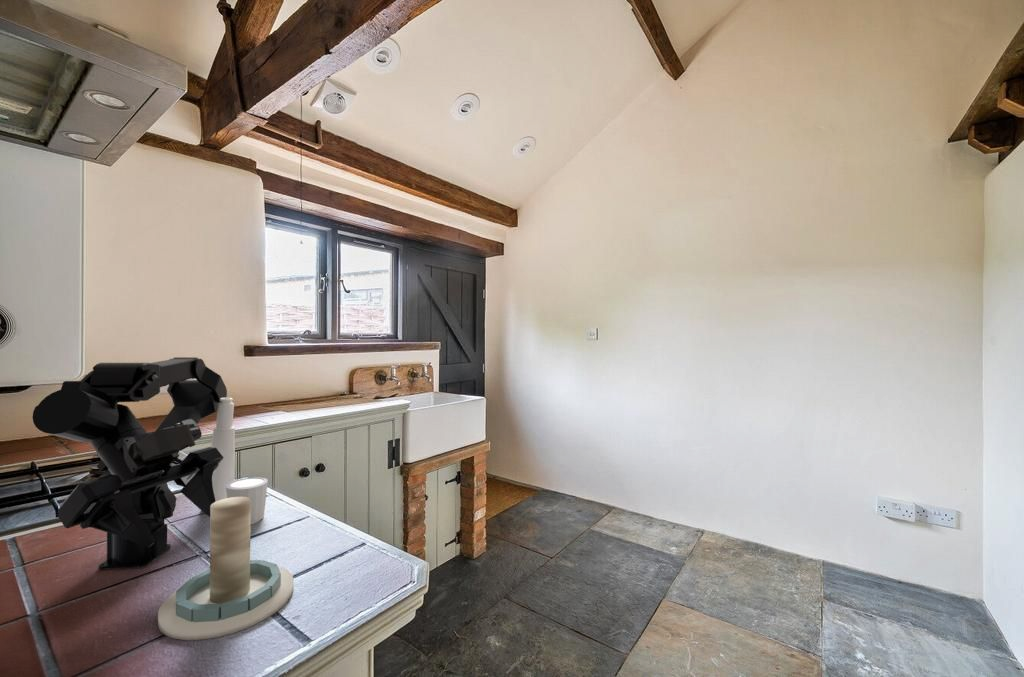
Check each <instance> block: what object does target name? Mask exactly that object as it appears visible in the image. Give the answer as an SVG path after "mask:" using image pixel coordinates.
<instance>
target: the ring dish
mask: <svg viewBox="0 0 1024 677" xmlns="http://www.w3.org/2000/svg"><path fill="white" fill-rule="evenodd" d="M294 580H295V579H294V576H293V574H292V572H290V571H289V570H288V569H286V567H282V566H278V564H277V563H274V562H272V561H271V562H270V561H267V560H263V559H253V560H252V559H250V591H249V592H248V593H247V594H246V595H245V596H244V597H242V598H239V599H235V600H232V601H228V602H225V603H221V604H217V603H213V602H211V601H210V568H209V569H207V570H205V571H203V572H200V573H198V574H197V575H194V576H193V577H191V578H189V579H188V580H187V581H185V582H184V583H183V584H182V585H181V586H180V587H179V588H178V589H177V590H175V591H174V592H173V593H172V594H170V595H169V596H168V597H167V598H166V599H165V600H164V601H163V602H162V603H161V605H160V607H159V609H158V613H157V626H158V629H159V631H160V633H161V634H163V635H165V636H167V637H168V638H171V639H175V640H176V639H177V640H183V641H199V640H200V641H201V640H208V639H213V638H219V637H223V636H228V635H231V634H234V633H238V632H240V631H242V630H247V628H250V627H253V626H254V625H257V624H259V623H260V622H263V621H265V620H266V619H268V618H270V617H271V616H273V615H274V614H275V613H277V612H278V611H280V609H282V608H283V607H284V606H285V605H286V602H287V603H288V602H289V600H290V599H291V597H292V595H293V593H294V582H295V581H294ZM292 592H293V593H292ZM290 596H291V597H290ZM289 598H290V599H289ZM288 599H289V600H288Z"/></svg>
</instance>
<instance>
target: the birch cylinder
mask: <svg viewBox="0 0 1024 677" xmlns="http://www.w3.org/2000/svg"><path fill="white" fill-rule="evenodd" d="M209 520H210V521H209V526H210V527H209V532H210V533H209V569H210V601H211V602H213V603H217V604H221V603H225V602H228V601H232V600H235V599H239V598H242V597H244V596H245V595H246V594H247V593H248V592H249V591H250V560H251V499H250V498H248V497H231V498H226V499H222V500H219V501H216V502H214V503H213V504H211V506H210V518H209Z"/></svg>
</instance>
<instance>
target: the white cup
mask: <svg viewBox="0 0 1024 677" xmlns="http://www.w3.org/2000/svg"><path fill="white" fill-rule="evenodd" d="M267 489H268V479H267V478H266V477H265V478H264V477H255V476H254V477H245V478H240V479H236V480H235V481H233V482H230V483H229V484H227V485H226V494H227V498H231V497H248V498H250V499H251V524H256V523H258V522H261V521H262V520H263V519H264V518H265V512H266V511H265V510H266V501H267V500H266V499H267V493H268V492H267ZM261 519H262V520H261ZM251 524H250V525H251Z"/></svg>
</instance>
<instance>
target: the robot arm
mask: <svg viewBox="0 0 1024 677" xmlns="http://www.w3.org/2000/svg"><path fill="white" fill-rule="evenodd" d="M165 386H166V387H167V386H168V387H167V388H166V392H167V394H169V396H170V397H171V399H172V400H171V401H172V404H173V407H172V409H171V410H169V412H168V413H167V415H166V416H165V417H164V418H163V420H162V421H161V423H159V425H158V427H157V428H156V429H155V430H154V431H151V432H147V430H146V429H145V428H144V426H143V425H142V423H140V421H139V419H138V418H137V417H136V415H135V414H134V413H133V411H132V410H131V408H130V407H129V406H127V405H124V404H120V403H139V402H146V401H149V400H151V399H152V398H154V397H155V396H156V395H159V394H160V393H161V388H163V387H165ZM227 389H228V388H227V387H226V385H225V382H224V380H223V379H222V376H221V375H220V374H219V373H218V372H215V371H214V370H212V369H211V368H209V367H208V366H207V365H206V363H205V360H203V359H202V358H199V357H196V356H194V357H192V356H189V357H187V356H186V357H179V356H178V357H176V356H175V357H173V358H169V359H166V360H160V361H155V362H99V363H96V364H95V365H94V366H93V367H92V370H90V372H88V373H87V374H86V375H85V376H84V377H83V378H82V379H81V380H64V381H63V383H62V384H61V389H59V390H57V391H56V390H55V391H54V392H52V393H50V394H48V395H47V396H45V397H44V398H43V399H42V400H41V401H40V402H39V403H38V405H36V406H35V407H34V409H33V412H32V423H33V425H34V426H35V428H36V429H38V430H39V431H40V432H43V433H45V434H48V435H51V436H56V437H59V438H63V439H67V440H71V441H75V442H79V443H80V442H81V443H89V444H90V446H91V447H92V448H93V450H94V452H95V453H96V454H97V456H98V457H99V458H100V461H99V462H98V464H97V465H96V468H97V469H98V471H100V472H102V473H103V474H101V475H100V476H98V477H96V478H92V479H89V480H85V481H82V482H79V483H78V484H77V485H76V487H75V488H74V489H73V490H72V492H70V493H69V495H68V496H67V497H66V498H65V500H64V501H63V502H62V503H61V505H59V507H58V509H57V518H58V519H59V521H60V522H61V524H62V525H63V527H64V528H65V529H69V528H74V527H76V526H78V525H79V527H80V528H81V529H82V530H85V529H88V528H93V529H94V530H95V529H96V530H99V531H102V532H105V533H106V559H105V560H104V561H102V562H101V563H100V564H98V566H97V567H98V569H99V570H104V569H105V570H107V569H111V570H112V569H131V568H132V569H133V568H143V567H147V565H150V563H152V562H153V561H154V560H156V559H158V558H159V557H160V556H161V555H162V554H164V553H165V552H167V551H169V549H171V547H172V544H170V543H168V524H167V523H165V520H166V519H169V518H171V517H173V515H174V512H175V509H176V506H177V504H176V503H177V496H176V495H175V494H174V492H172V491H171V489H170V488H169V485H168V483H169V482H172V481H174V483H175V484H176V485H177V486H180V487H182V489H180V493H181V494H182V495H183V496H185V497H186V498H187V499H188V500H189V501H190V502H191V503H193V505H195V506H196V507H197V508H198V509H199V510H200V511H201V512H203V513H204V514H205V515H206V516H208V517H210V506H211V504H213V503H214V502H216V501H215V496H214V491H213V485H212V475H213V472H214V470H215V469H216V468H217V467H218V466H219V463H220V462H221V460H222V459H223V458H224V457H223V456H222V455H221V453H220V452H219V451H218V450H217V448H213V447H211V446H209V447H206V448H202V449H198V450H194V451H191V452H189V453H188V454H187V455H186V456H185V458H183V459H182V460H181V462H180V463H179V464H176V465H173V466H172V463H173V462H176V460H177V459H178V458H179V457H180V454H179V453H180V452H181V451H183V450H185V449H187V448H192V447H194V446H196V441H198V440H199V439H201V438H202V435H203V434H202V431H201V428H200V426H199V425H198V423H199V422H200V421H201V420H203V419H204V418H207V417H209V416H211V415H213V414H215V413H217V408H218V403H220V398H228V397H227V396H228V393H227V392H228V390H227Z"/></svg>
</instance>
